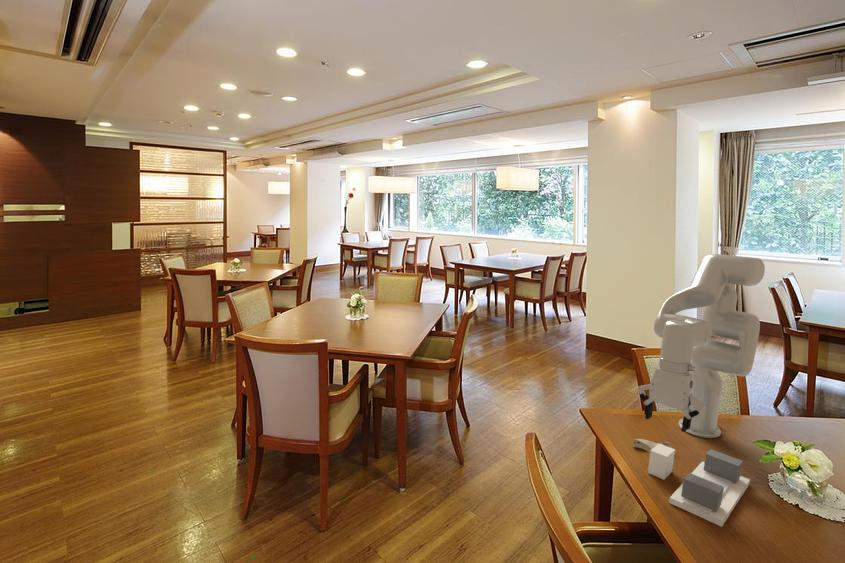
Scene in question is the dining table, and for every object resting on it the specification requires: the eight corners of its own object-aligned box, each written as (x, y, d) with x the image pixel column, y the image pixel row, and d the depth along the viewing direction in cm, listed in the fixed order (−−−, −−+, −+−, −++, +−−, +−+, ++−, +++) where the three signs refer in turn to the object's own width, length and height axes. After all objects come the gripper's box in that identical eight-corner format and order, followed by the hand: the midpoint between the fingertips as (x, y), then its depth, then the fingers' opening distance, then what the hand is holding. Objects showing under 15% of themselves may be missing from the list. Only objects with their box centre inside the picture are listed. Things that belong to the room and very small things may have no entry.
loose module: (655, 465, 140) (658, 443, 139) (672, 471, 137) (675, 449, 136) (647, 472, 136) (650, 450, 135) (664, 479, 133) (667, 456, 132)
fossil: (667, 460, 144) (668, 450, 143) (629, 447, 150) (631, 437, 150) (672, 451, 149) (673, 441, 149) (635, 439, 156) (637, 430, 155)
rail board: (701, 466, 141) (704, 444, 140) (749, 484, 132) (753, 461, 131) (669, 502, 123) (672, 478, 122) (721, 526, 115) (726, 500, 113)
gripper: (713, 371, 127) (704, 431, 130) (647, 354, 140) (640, 409, 143) (704, 378, 122) (695, 440, 125) (636, 359, 135) (629, 416, 137)
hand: (666, 423), depth 134 cm, fingers open, 9 cm apart
